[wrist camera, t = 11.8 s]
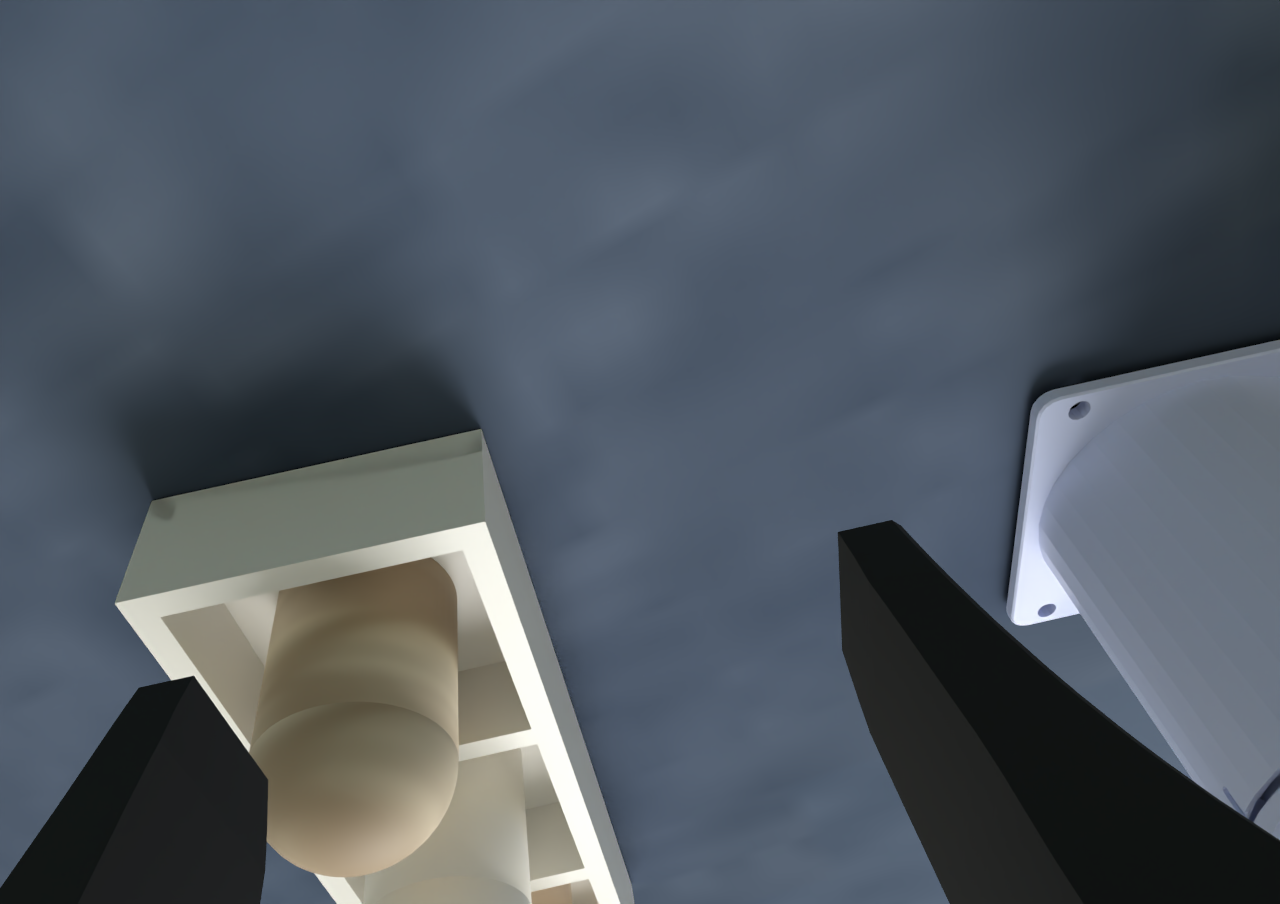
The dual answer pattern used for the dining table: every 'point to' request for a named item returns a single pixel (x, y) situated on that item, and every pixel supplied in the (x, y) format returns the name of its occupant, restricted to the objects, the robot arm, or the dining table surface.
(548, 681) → the egg carton
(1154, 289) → the dining table surface
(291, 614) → the wooden egg
